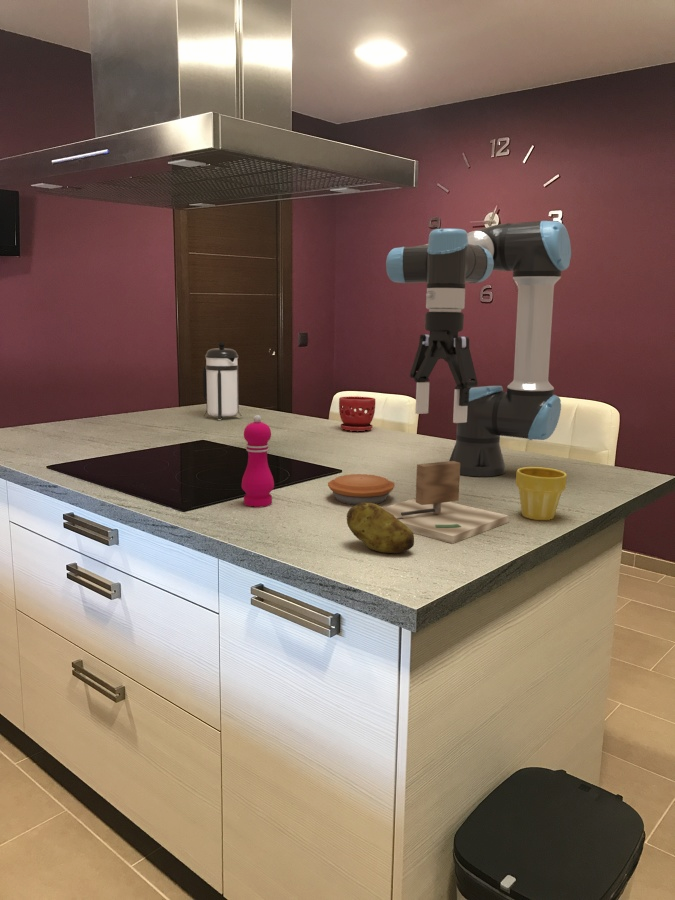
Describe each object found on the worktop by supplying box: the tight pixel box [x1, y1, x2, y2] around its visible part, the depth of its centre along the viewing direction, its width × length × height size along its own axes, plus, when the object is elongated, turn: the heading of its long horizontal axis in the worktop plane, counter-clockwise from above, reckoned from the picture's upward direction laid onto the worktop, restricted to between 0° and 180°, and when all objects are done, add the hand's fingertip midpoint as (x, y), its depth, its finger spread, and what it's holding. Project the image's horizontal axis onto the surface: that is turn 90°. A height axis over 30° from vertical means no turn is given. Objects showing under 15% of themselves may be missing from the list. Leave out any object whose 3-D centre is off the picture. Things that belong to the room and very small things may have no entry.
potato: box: [346, 502, 415, 554], centre depth 132 cm, size 8×13×8 cm, turn 38°
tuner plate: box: [382, 497, 510, 545], centre depth 150 cm, size 20×22×2 cm
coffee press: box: [202, 341, 243, 420], centre depth 284 cm, size 17×16×30 cm
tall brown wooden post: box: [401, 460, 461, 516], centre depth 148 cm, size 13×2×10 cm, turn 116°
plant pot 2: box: [515, 466, 568, 521], centre depth 154 cm, size 10×10×10 cm
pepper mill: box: [241, 414, 275, 508], centre depth 160 cm, size 7×7×20 cm
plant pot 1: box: [338, 396, 376, 432], centre depth 262 cm, size 13×13×12 cm
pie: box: [327, 473, 396, 506], centre depth 167 cm, size 15×16×5 cm
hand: (440, 417), depth 146 cm, fingers open, 13 cm apart
